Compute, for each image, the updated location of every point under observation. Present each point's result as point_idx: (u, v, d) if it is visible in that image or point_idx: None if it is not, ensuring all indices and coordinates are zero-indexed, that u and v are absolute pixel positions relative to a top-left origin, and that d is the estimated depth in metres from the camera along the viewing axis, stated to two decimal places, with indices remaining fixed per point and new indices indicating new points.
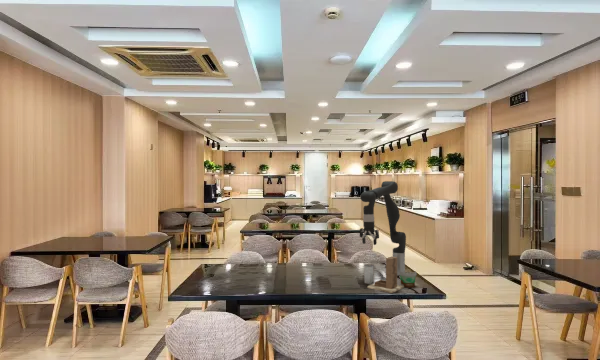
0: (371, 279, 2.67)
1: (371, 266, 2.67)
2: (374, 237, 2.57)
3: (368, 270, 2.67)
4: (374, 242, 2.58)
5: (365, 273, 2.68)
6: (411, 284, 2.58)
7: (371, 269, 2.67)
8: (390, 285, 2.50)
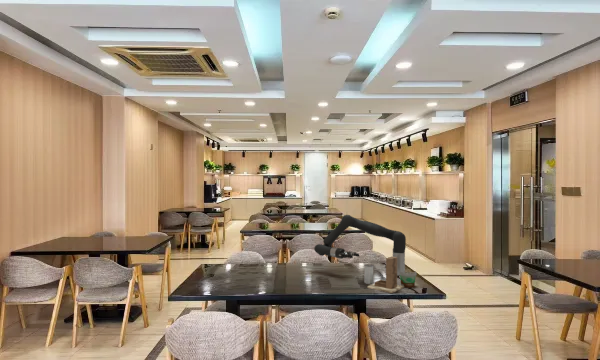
0: (371, 279, 2.67)
1: (371, 266, 2.67)
2: None
3: (368, 270, 2.67)
4: (350, 257, 2.74)
5: (365, 273, 2.68)
6: (411, 284, 2.58)
7: (371, 269, 2.67)
8: (390, 285, 2.50)
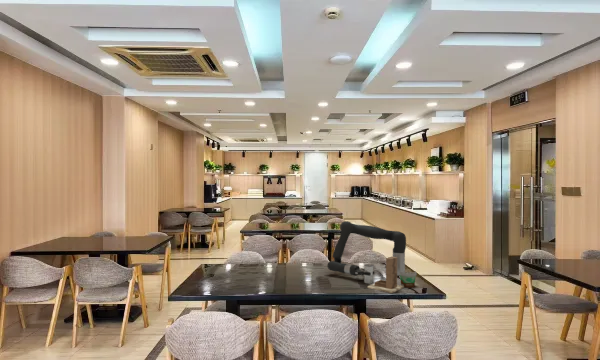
0: (371, 278, 2.67)
1: (371, 266, 2.67)
2: (363, 274, 2.68)
3: (368, 270, 2.67)
4: (368, 275, 2.66)
5: None
6: (411, 284, 2.58)
7: (371, 269, 2.67)
8: (390, 285, 2.50)
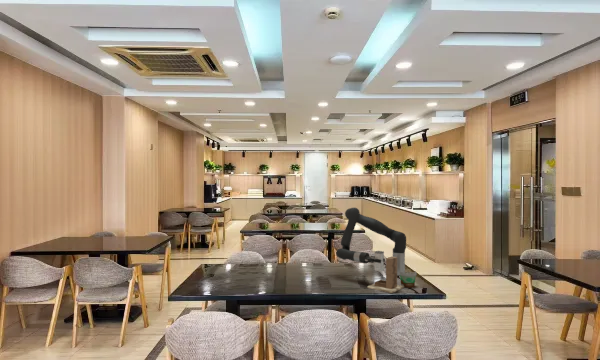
0: (381, 266, 2.59)
1: (381, 253, 2.60)
2: (373, 262, 2.60)
3: (378, 257, 2.59)
4: (378, 262, 2.58)
5: None
6: (411, 284, 2.58)
7: (381, 256, 2.60)
8: (390, 285, 2.50)
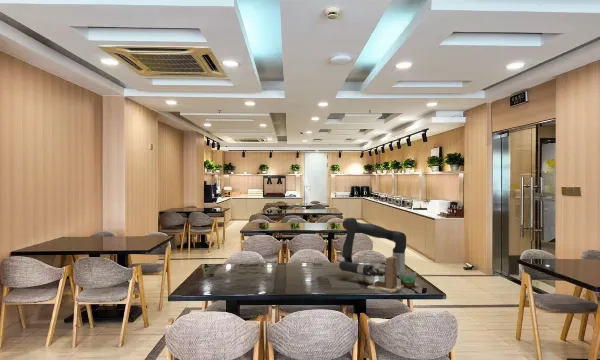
0: (385, 281, 2.56)
1: None
2: (375, 275, 2.57)
3: (382, 272, 2.56)
4: (380, 275, 2.55)
5: None
6: (411, 284, 2.58)
7: None
8: (390, 285, 2.50)
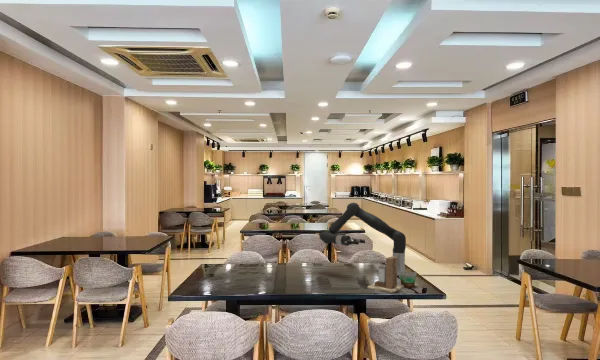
0: (385, 281, 2.56)
1: None
2: (352, 243, 2.73)
3: (382, 272, 2.56)
4: (356, 244, 2.71)
5: (379, 275, 2.58)
6: (411, 284, 2.58)
7: None
8: (390, 285, 2.50)
